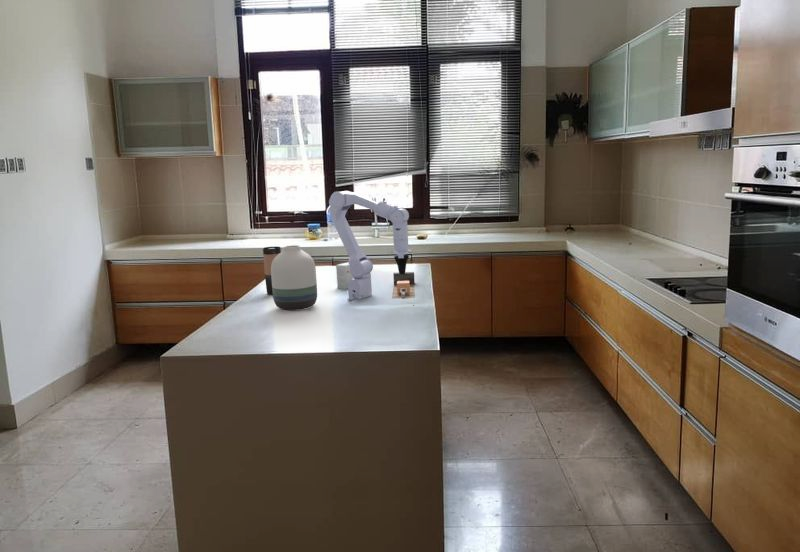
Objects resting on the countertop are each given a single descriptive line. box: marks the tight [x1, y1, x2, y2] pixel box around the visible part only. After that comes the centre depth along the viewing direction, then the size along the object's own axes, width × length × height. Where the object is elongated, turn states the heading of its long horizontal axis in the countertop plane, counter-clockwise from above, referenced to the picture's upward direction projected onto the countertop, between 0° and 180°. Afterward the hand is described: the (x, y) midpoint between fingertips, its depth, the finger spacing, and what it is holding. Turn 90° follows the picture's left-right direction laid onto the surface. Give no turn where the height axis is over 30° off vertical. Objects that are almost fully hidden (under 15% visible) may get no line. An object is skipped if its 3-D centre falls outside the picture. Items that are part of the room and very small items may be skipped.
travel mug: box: [262, 246, 282, 296], centre depth 278 cm, size 8×8×20 cm
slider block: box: [397, 281, 410, 295], centre depth 261 cm, size 6×5×4 cm
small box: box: [335, 261, 353, 290], centre depth 285 cm, size 8×6×10 cm
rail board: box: [391, 271, 416, 300], centre depth 267 cm, size 32×9×6 cm, turn 179°
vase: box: [271, 244, 318, 311], centre depth 246 cm, size 17×17×24 cm
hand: (402, 273), depth 252 cm, fingers closed
